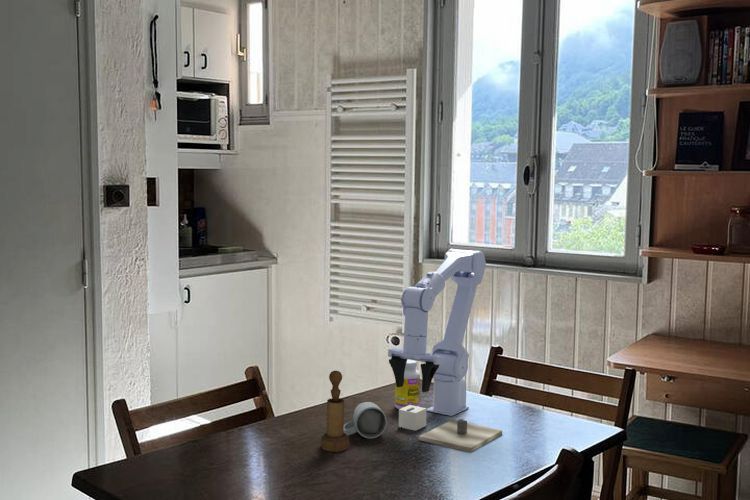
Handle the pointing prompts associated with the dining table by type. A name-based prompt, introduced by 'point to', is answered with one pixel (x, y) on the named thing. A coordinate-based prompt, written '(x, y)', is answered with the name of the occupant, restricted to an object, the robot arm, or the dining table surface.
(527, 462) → the dining table surface
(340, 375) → the mortar and pestle
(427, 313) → the robot arm
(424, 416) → the white cabinet with handle
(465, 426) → the board
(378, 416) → the ceramic mug
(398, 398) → the supplement bottle
